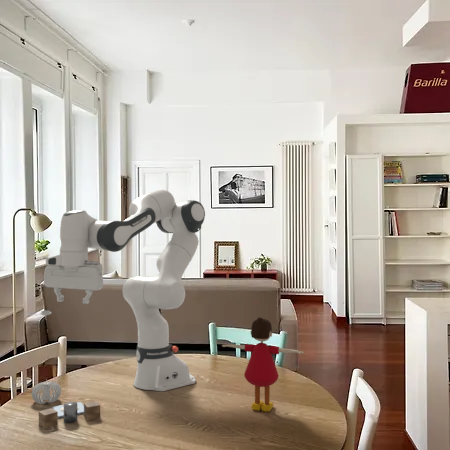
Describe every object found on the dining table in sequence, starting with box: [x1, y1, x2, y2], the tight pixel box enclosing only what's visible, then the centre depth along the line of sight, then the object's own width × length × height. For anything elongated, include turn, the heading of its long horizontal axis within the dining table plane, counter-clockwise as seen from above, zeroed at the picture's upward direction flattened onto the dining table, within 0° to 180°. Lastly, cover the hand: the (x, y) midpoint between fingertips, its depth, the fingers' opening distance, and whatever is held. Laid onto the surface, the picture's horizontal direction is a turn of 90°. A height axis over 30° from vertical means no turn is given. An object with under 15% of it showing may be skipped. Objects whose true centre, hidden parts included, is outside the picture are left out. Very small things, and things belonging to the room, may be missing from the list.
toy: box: [221, 317, 304, 413], centre depth 168 cm, size 27×11×30 cm, turn 71°
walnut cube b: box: [38, 407, 59, 430], centre depth 157 cm, size 4×4×4 cm
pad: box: [51, 401, 84, 419], centre depth 168 cm, size 9×9×1 cm
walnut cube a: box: [83, 400, 101, 421], centre depth 163 cm, size 4×4×4 cm
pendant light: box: [30, 310, 62, 405], centre depth 176 cm, size 9×9×30 cm
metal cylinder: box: [63, 401, 79, 424], centre depth 160 cm, size 4×4×5 cm
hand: (73, 302), depth 173 cm, fingers open, 8 cm apart
